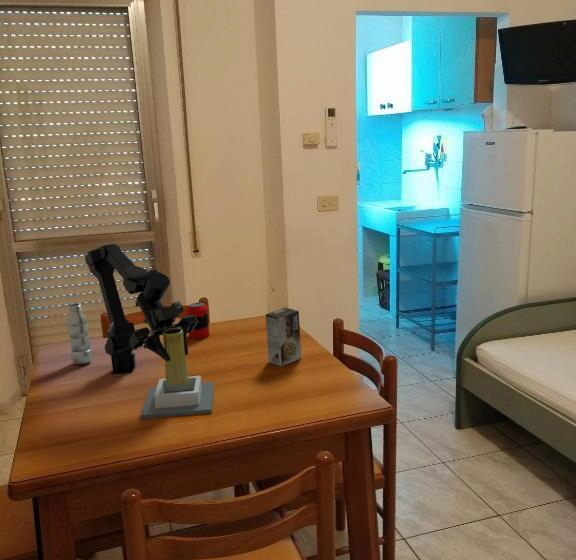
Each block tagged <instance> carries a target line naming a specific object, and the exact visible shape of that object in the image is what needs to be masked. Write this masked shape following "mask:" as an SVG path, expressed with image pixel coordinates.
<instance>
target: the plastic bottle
mask: <svg viewBox="0 0 576 560" xmlns="http://www.w3.org/2000/svg"><path fill="white" fill-rule="evenodd" d="M82 310H83V308H82V304H81V303H72V304H69V305H68V311H69V314H68V316H67V317H66V320H65V323H66V327H67V330H68V334H69V339H70V348H71V349H70V350H71V352H70V357H71V358H70V359H71V362H72V363H73V364H75V365H85V364H86V365H87V364H89V363H91V362H92V360H93V359H94V358H93V351H92V349H91V344H90V340H89V333H88V326H89V325H88V324H89V323H88V318H87V316H86V314H85V313H84V312H82Z"/></svg>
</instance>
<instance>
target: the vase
mask: <svg viewBox="0 0 576 560" xmlns="http://www.w3.org/2000/svg"><path fill="white" fill-rule="evenodd" d="M162 338H163V347H164V349H165V351H166V352H167V354H168V357H169V361H166V360H164V365H165V366H164V368H165V370H164V371H165V379H166V383H167V384H168V385H181V384H184V383H186V382H187V381H188V380H189V378H188V377H189V373H188V366H187V360H186V359H187V358H186V355H185V349H184V337H183V330H182V329H180V328H170V329H166V330H164V331H163V335H162Z"/></svg>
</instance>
